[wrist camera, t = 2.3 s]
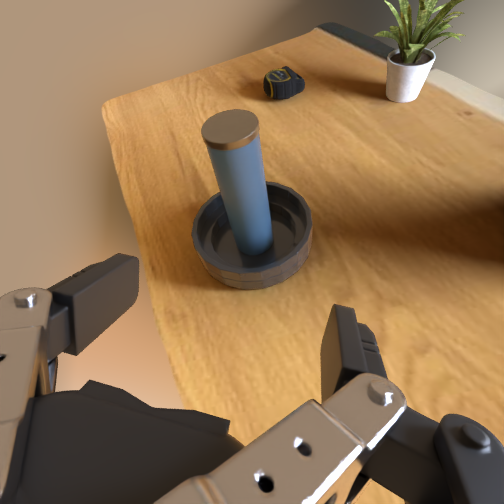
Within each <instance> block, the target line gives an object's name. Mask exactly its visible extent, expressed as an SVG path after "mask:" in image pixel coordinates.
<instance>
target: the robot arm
mask: <svg viewBox="0 0 504 504" xmlns="http://www.w3.org/2000/svg"><path fill="white" fill-rule="evenodd" d="M138 288H139V260H138V258H137V257H134V256H129V255H125V254H121V253H118V254H116V255H114V256H112V257H111V258H109V259H107V260H105V261H103V262H100V263H96V264H93V265H90V266H88V267H86V268H84V269H82V270H81V271H80V272H77V273H75V274H73V275H72V277H71V276H70V277H68V278H66V279H64V280H62V281H61V282H59V283H57V284H55V285H53V286H52V287H50V288H48V289H42V288H23V289H18V290H14V291H11V292H9V293H7V294H5V295H3V296H2V297H0V504H354V503H355V502H356V501H357V499H358V498H359V497H360V495H361V494H362V493H363V491H364V490H365V489H366V488H367V486H368V485H369V484H370V482H371V481H372V480H374V481H375V482H377V483H378V484H380V485H382V486H383V487H385V488H386V489H388V490H390V491H391V492H393V493H394V494H396V495H398V496H399V497H401V498H402V499H404V501H405V504H504V447H503V445H502V444H501V443H500V441H499V440H498V439H497V438H496V437H495V436H494V435H493V434H492V433H491V432H490V431H489V430H487V429H486V428H485V427H484V426H482V425H481V424H479V423H477V422H476V421H474V420H472V419H470V418H468V417H465V416H462V415H458V414H448V415H445V416H444V417H443V418H442V420H441V421H440V423H438V422H436V421H434V420H432V419H430V418H428V417H426V416H424V415H422V414H420V413H418V412H416V411H414V410H413V409H411V408H410V407H408V406H407V402H406V398H405V396H404V394H403V393H402V391H401V390H400V389H399V388H398V387H397V386H396V385H395V384H393V383H392V382H391V381H389V380H388V378H387V375H386V371H385V368H384V365H383V362H382V358H381V355H380V354H379V348H378V346H377V342H376V339H375V335H374V334H373V332H372V331H371V330H370V329H369V328H368V327H367V325H365V324H361V323H357V319H356V315H355V311H354V308H350V307H345V306H341V305H337V304H334V305H333V306H332V309H331V312H330V316H329V319H328V322H327V326H326V329H325V332H324V336H323V340H322V344H321V353H320V356H321V395H322V404H319V403H318V402H317V401H316V400H314V399H311V400H308V401H307V402H305V403H304V404H303V405H301V406H300V407H298V408H297V409H296V410H294V411H293V412H292V413H290V414H289V415H288V416H286V417H285V418H284V419H282V420H281V421H280V422H278V423H277V424H275V425H274V426H273V427H271V428H270V429H269V430H267V431H266V432H265V433H263V434H262V435H261V436H259V437H258V438H257V439H255V440H254V441H252V442H251V443H250V444H248V445H247V446H246V447H245V446H244V445H243V444H242V443H240V442H239V441H238V440H236V439H235V438H234V437H232V436H231V435H229V434H228V431H229V425H230V420H226V419H223V418H219V417H216V416H213V415H209V414H206V413H202V412H199V411H195V410H183V409H166V408H154V407H151V406H149V405H147V404H146V403H144V402H142V401H141V400H139V399H138V398H136V397H134V396H133V395H131V394H130V393H128V392H126V391H125V390H123V389H120V388H116V387H113V386H110V385H106V384H103V383H99V382H96V381H93V380H89V381H88V382H87V383H86V384H85V385H84V386H83V387H82V388H81V389H80V390H72V391H61V392H55V386H56V377H57V368H58V357H57V355H59V354H60V353H61V352H64V353H68V354H71V355H75V356H77V355H78V354H79V353H80V352H82V351H83V350H84V349H85V348H86V347H87V346H88V345H89V344H90V343H91V342H93V341H94V340H95V339H96V338H97V337H98V336H99V335H100V334H101V333H103V332H104V331H105V330H106V329H107V328H108V327H109V326H110V325H111V324H113V323H114V322H115V321H116V320H117V319H118V318H119V317H120V316H121V315H122V314H124V313H125V312H126V311H127V310H128V309H129V308H130V307H131V306H132V305H133V304H134V303H135V301H136V299H137V296H138Z"/></svg>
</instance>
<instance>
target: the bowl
mask: <svg viewBox="0 0 504 504" xmlns="http://www.w3.org/2000/svg"><path fill="white" fill-rule="evenodd" d="M266 188H267V195H268V202H269V210H270V217H271V224H272V231H273V243H272V245H271V247H270V248H269V249H268V250H267V251H265V252H264V253H262V254H258V255H247V254H244V253H243V252H241V251H240V250H239V249H238V248H237V245H236V242H235V239H234V236H233V232H232V229H231V226H230V222H229V219H228V216H227V212H226V209H225V206H224V202H223V199H222V196H221V192H219V193H217V194H215V195H213V196H212V197H211V198H210V199H209V200H208V201H207V202H206V203H205V204H204V205H203V206H202V207H201V208H200V210H199V212H198V214H197V215H196V217H195V219H194V222H193V228H192V239H193V243H194V247H195V249H196V251H197V253H198V256H199V258H200V260H201V262H202V264H203V265H204V267H205V268H206V269H207V271H208V272H209V273H210V275H211V276H212V277H214V278H215V279H217V280H219V281H220V282H222V283H224V284H225V285H228V286H232V287H236V288H241V289H261V288H267V287H269V286H272V285H275V284H278V283H281V282H282V281H284V280H286V279H287V278H289V277H290V276H291V275H293V274H294V273H296V272H297V271H298V270H299V269H300V267H301V266H302V265H303V263H304V262H305V261H306V259H307V258H308V255H309V252H310V248H311V245H312V217H311V210H310V208H309V207H308V205H307V203H306V202H305V200H304V198H303V197H302V196H300V195H299V194H298V193H297V192H295V191H294V190H293V189H291V188H289V187H286V186H284V185H281V184H279V183H275V182H267V181H266Z"/></svg>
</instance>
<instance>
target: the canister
mask: <svg viewBox="0 0 504 504" xmlns="http://www.w3.org/2000/svg"><path fill="white" fill-rule="evenodd" d="M201 133H202V137H203V140H204V142H205V144H206V146H207V149H208V153H209V156H210V159H211V163H212V166H213V169H214V173H215V176H216V179H217V182H218V186H219V189H220V192H221V196H222V199H223V202H224V206H225V209H226V212H227V216H228V219H229V222H230V226H231V229H232V232H233V236H234V239H235V242H236V245H237V248H238V249H239V250H240V251H241V252H243V253H244V254H247V255H258V254H262V253H264V252H265V251H267V250H268V249H269V248H270V247H271V245H272V243H273V231H272V224H271V217H270V210H269V202H268V195H267V188H266V181H265V173H264V166H263V159H262V152H261V144H260V137H259V121H258V118H257V117H256V115H255V114H253V113H252V112H250V111H247V110H240V109H235V110H227V111H223V112H220V113H218V114H215V115H213V116H212V117H210V118H209V119H208V120H207V121H206V122H205V123H204V124H203V126H202V129H201Z"/></svg>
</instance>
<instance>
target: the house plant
mask: <svg viewBox="0 0 504 504" xmlns="http://www.w3.org/2000/svg"><path fill="white" fill-rule="evenodd" d="M384 1H385V2H386V4H387V5H389V7H390V8H391V10H392V12H393V14H394V16H395V17H396V19H397V21H398V23H399V27H397V26H391V27H390V31H391V32H392V33H390V32H388V31H381V32H379V33H377V34H376V35H375V36H382V37H389V38H392V39H394V40H396V41H397V42H398V45H399V49H396V50H394V51H392V52H391V53H390V54H389V55H388V58H387V82H386V96H387V97H388V99H390V100H391V101H394V102H409V101H412V100H414V99H416V97H417V96H418V94H419V92H420V90H421V87H422V85H423V83H424V81H425V79H426V77H427V75H428V73H429V71H430V68H431V66H432V64H433V62H434V60H435V53H434V52H433V51H432V50H431V49H430V50H429V49H427V48H425V47H426V46H427V44H428V43H429V42H431V41H432V40H434V39H436V38H438V37H441V36H449V37H455V38H457V39H459V37H458V36H457V35H460V36H461V35H463V34H454V33H451V32H445V33H441V34H438V33H440V32H441V31H443V30H445V29H447V28H448V27H450V25H448V24H447V23H448V22H449V21H450V20H452V19H453V18H455V17H457V16H459V15H456V16H452V17H450V18H448V19H447V20H445V21H444V20H442V19H443V18H444V17H445V15H446V14H447V13H448V12H449V11H450V10H451V9H452V8H453V7H454V6H455V5H456V4H457V3H459V2H461V1H464V0H451V1H450V2H449V3H446V4H444V5H442V6H439V7H437V8H435V9H434V7H435V5H436V4H437V2H438V0H427V1H426V0H419V3H420V4H419V11H418V16H417V25H416V28H415V30H414V33H413V36H412V18H411V8H410V4H409V3H408V0H399V3H400V15H401V18H400V17H399V14H398V13H397V11H396V10H395V8H394V7H393V6H392V5H391V4H390V3H389V2H387V1H386V0H384ZM425 1H426V3H425ZM441 8H442V9H441ZM439 9H441V11H440V12H439V13H438V14H437V16H436V17H435V18H434V19H432V20H430V21H429V18H430V16H431V14H432V13H434V12H436V11H437V10H439ZM457 13H458V14H462V12H453V13H450V14H449V15H447V16H450V15H452V14H457ZM447 16H446V17H447ZM446 17H445V18H446ZM445 18H444V19H445ZM428 21H429V22H428ZM440 21H441V22H442V23H441V24H439V23H440ZM434 24H435V25H434ZM438 24H439V25H438ZM431 28H432V29H431ZM430 29H431V30H430ZM428 32H429V33H428ZM427 33H428V34H427ZM437 34H438V35H437ZM426 35H427V36H426ZM425 36H426V37H425ZM463 36H464V35H463ZM424 37H425V39H424ZM449 37H448V38H449ZM448 38H446V39H448ZM423 39H424V40H423ZM443 41H444V40H443ZM440 43H441V42H440ZM437 45H438V44H437Z"/></svg>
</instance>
